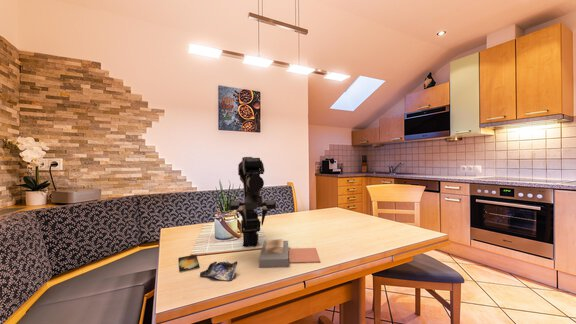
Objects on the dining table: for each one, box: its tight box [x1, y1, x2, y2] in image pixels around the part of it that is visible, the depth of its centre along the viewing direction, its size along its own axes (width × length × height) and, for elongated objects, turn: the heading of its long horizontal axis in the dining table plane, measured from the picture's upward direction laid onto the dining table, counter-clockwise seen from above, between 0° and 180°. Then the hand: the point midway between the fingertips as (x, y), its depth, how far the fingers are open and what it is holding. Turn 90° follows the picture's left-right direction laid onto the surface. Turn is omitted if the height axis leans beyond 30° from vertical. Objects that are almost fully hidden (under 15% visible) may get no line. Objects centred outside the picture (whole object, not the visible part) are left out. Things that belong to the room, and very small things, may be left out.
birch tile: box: [265, 238, 284, 254], centre depth 99 cm, size 7×9×2 cm
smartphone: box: [177, 254, 201, 274], centre depth 94 cm, size 7×1×15 cm
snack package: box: [199, 261, 238, 281], centre depth 84 cm, size 12×7×12 cm
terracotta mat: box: [288, 247, 321, 264], centre depth 99 cm, size 12×14×1 cm
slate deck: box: [258, 240, 290, 269], centre depth 99 cm, size 11×20×3 cm, turn 0°
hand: (254, 225), depth 98 cm, fingers open, 6 cm apart
